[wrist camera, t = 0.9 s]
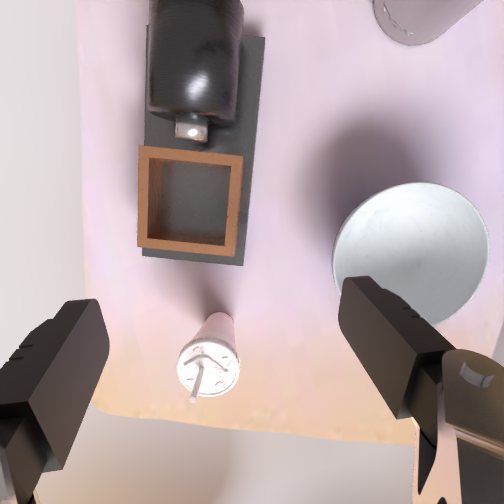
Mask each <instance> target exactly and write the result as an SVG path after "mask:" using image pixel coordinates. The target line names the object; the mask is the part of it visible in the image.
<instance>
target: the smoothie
mask: <svg viewBox="0 0 504 504" xmlns="http://www.w3.org/2000/svg"><path fill="white" fill-rule="evenodd" d="M240 365H241V364H240V358H239V355H238V353H237V351H236V343H235V332H234V323H233V320H232V318H231V317H230V316H229V315H228V314H226V313H223V312H216V313H213V314H211V315H210V316H209V317H208V319H207V320H206V321H205V323H204V324H203V326H202V327H201V328H200V330H199V331H198V333H197V334H196V335H195V337H194V338H193V340H191V341H190V342H189V343H187V344H186V345H185V346H184V348H183V349H182V350H181V352H180V355H179V358H178V361H177V374H178V377H179V379H180V381H181V383H182V384H183V385H184V386H185V387H186V388H187V389H188V390H189V391H191V392H192V393H191V397H190V402H192V403H194V402H196V399H197V396H198V395H200V396H205V397H213V396H218V395H221V394H224V393H226V392H227V391H229V390H230V389H231V388H232V387H233V386H234V385H235V383H236V381H237V379H238V376H239V372H240Z"/></svg>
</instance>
